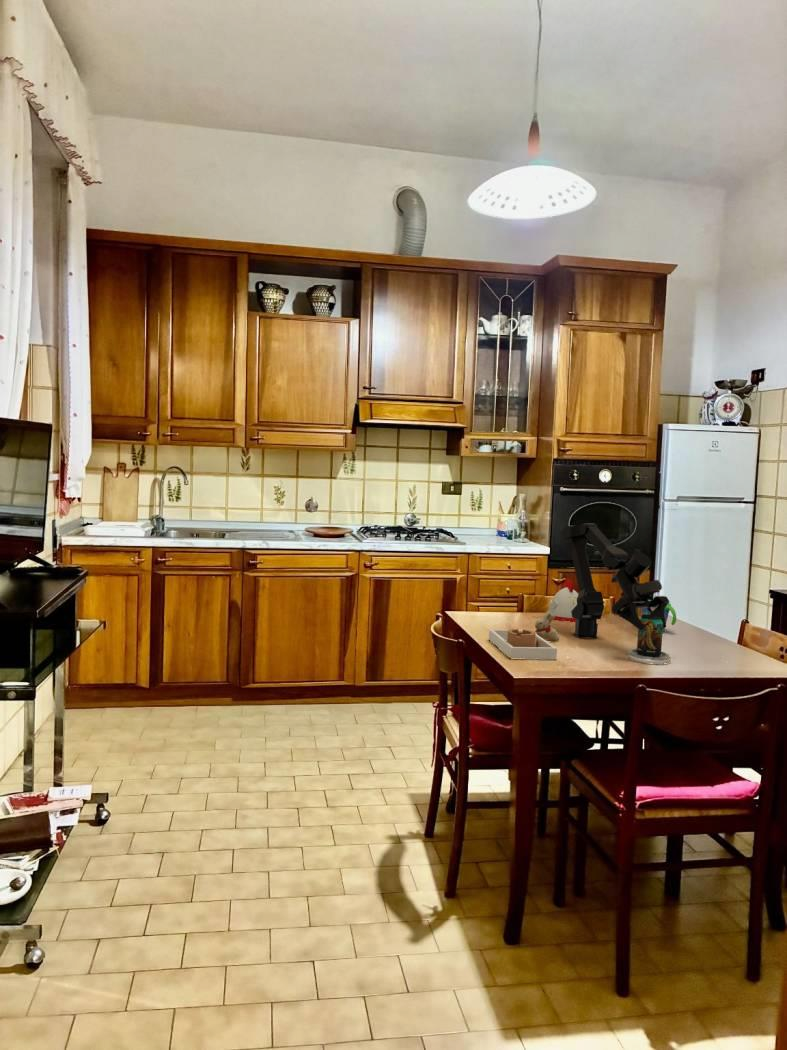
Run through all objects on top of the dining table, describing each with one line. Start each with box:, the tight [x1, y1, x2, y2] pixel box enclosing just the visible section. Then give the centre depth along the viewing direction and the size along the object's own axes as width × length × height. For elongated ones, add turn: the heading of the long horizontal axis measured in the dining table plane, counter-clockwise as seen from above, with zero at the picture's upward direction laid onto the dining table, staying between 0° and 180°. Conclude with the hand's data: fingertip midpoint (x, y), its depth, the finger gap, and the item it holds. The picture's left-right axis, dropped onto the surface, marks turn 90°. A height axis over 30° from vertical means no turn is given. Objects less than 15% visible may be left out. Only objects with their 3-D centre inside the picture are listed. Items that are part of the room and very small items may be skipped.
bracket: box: [507, 628, 537, 647], centre depth 237 cm, size 18×8×7 cm, turn 166°
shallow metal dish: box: [627, 647, 672, 664], centre depth 233 cm, size 12×12×2 cm
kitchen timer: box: [547, 578, 579, 623], centre depth 292 cm, size 14×14×15 cm
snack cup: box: [636, 599, 677, 632], centre depth 278 cm, size 16×10×10 cm
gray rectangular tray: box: [488, 629, 558, 660], centre depth 237 cm, size 14×24×4 cm, turn 8°
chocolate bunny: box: [534, 610, 560, 642], centre depth 252 cm, size 6×8×10 cm
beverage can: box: [636, 614, 664, 657], centre depth 233 cm, size 7×7×12 cm
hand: (653, 628), depth 232 cm, fingers open, 9 cm apart
